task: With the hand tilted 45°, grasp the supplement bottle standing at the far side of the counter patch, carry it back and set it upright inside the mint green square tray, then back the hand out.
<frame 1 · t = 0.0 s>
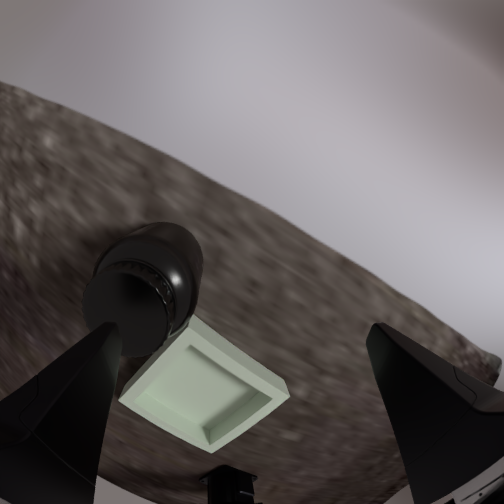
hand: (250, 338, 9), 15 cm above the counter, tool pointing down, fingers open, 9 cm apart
supplement bottle: (166, 259, 24), on the counter
mint green square tray: (201, 386, 26), on the counter
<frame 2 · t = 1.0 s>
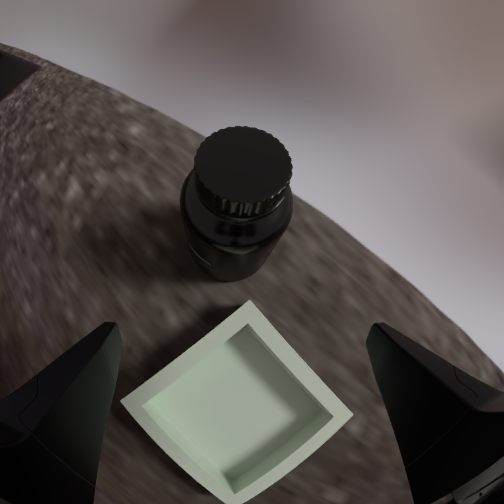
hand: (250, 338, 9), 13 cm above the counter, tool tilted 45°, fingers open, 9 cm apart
supplement bottle: (229, 245, 24), on the counter
mint green square tray: (237, 409, 19), on the counter
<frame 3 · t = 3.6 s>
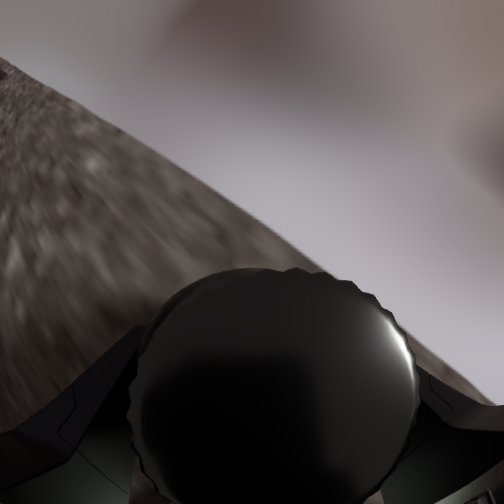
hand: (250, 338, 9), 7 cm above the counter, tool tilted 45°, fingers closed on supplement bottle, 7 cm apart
supplement bottle: (235, 366, 15), on the counter, touching gripper
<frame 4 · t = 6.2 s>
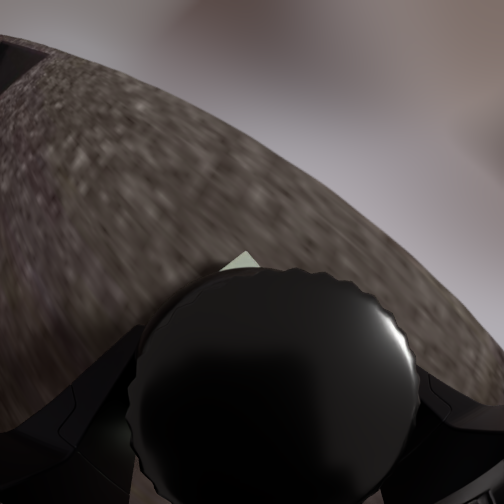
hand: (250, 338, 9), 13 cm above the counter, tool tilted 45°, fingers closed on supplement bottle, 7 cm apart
supplement bottle: (235, 365, 15), point 6 cm above the counter, touching gripper
mint green square tray: (232, 367, 20), on the counter
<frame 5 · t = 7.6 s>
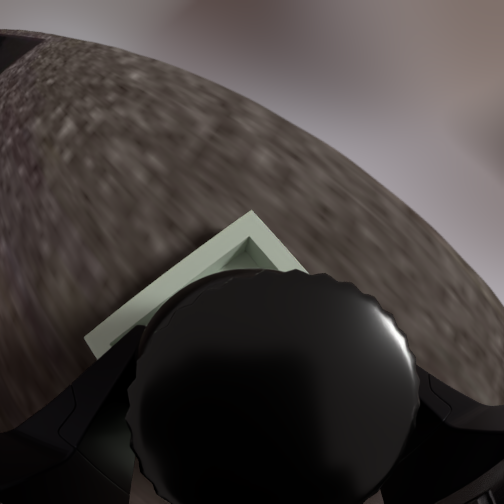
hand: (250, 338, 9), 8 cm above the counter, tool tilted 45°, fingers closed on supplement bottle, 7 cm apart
supplement bottle: (235, 365, 15), point 1 cm above the counter, touching gripper
mint green square tray: (235, 360, 16), on the counter
when the fingers open (8 cm above the counter, at t = 8.4 s): supplement bottle drops 1 cm, resting on mint green square tray.
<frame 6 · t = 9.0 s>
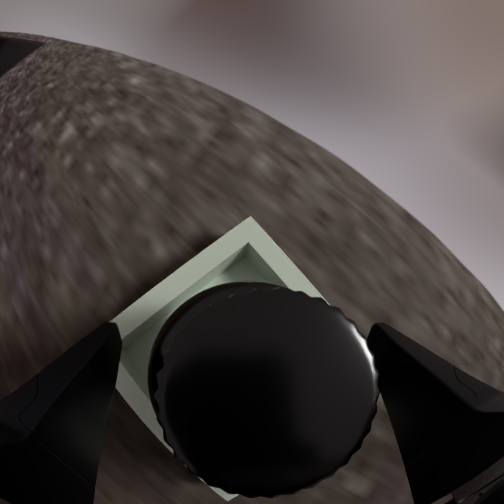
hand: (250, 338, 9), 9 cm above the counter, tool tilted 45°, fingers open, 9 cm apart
supplement bottle: (233, 364, 16), resting on mint green square tray
mint green square tray: (234, 364, 16), on the counter
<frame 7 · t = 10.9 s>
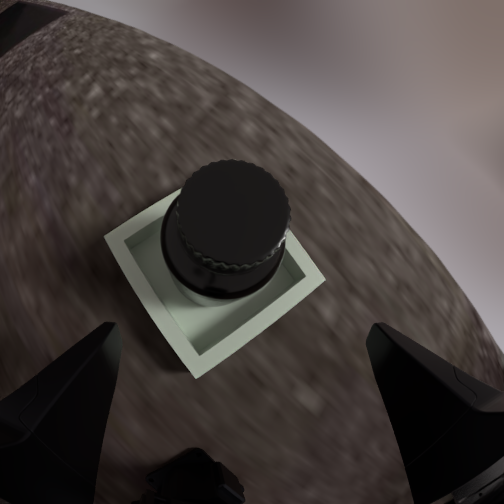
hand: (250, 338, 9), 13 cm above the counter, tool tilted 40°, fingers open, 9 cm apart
supplement bottle: (212, 266, 22), resting on mint green square tray
mint green square tray: (212, 267, 23), on the counter
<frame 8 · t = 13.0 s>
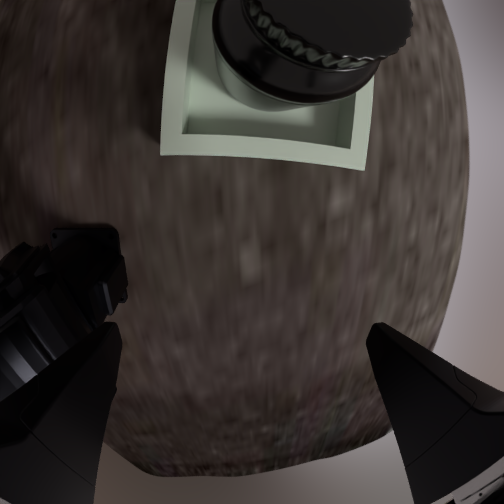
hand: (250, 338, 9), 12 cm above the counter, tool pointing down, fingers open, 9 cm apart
supplement bottle: (268, 66, 15), resting on mint green square tray
mint green square tray: (269, 67, 15), on the counter
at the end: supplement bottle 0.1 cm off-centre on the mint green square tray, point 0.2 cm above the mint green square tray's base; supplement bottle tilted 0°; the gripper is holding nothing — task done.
